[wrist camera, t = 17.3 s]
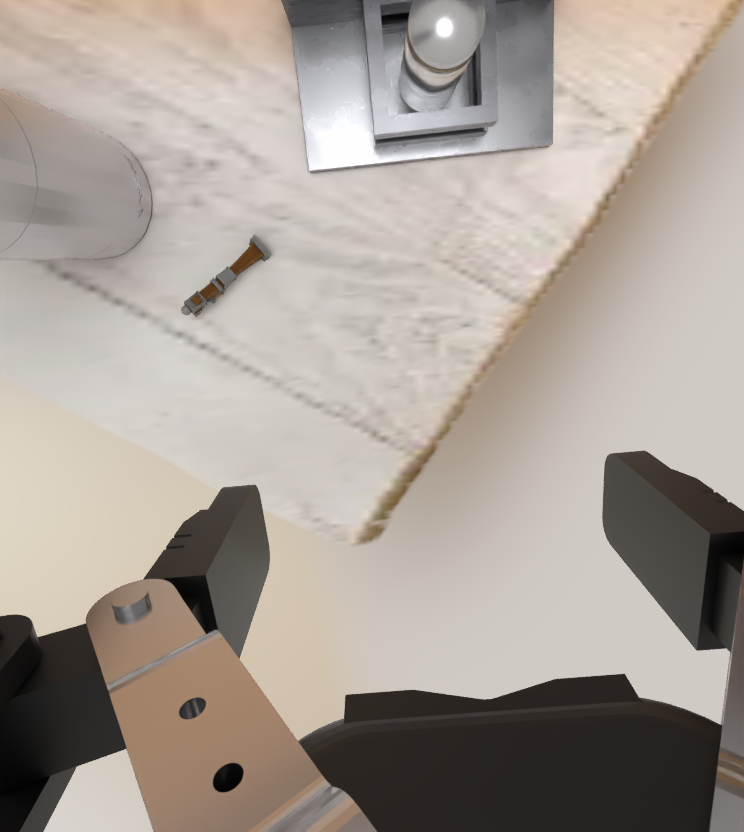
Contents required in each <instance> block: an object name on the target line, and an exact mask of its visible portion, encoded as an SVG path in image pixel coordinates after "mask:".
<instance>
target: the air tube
mask: <svg viewBox="0 0 744 832" xmlns="http://www.w3.org/2000/svg"><path fill="white" fill-rule="evenodd" d="M485 18H486V15H485V7H484V2H483V0H413V2H412V5H411V8H410V12H409V16H408V22H407V32H406V38H405V44H404V50H403V57H402V63H401V69H400V75H399V87H400V92H401V95H402V97H403V99H404V101H405V102H406V103H407V104H408V105H409V106H410V107H411V108H412V109H414V110H416V111H418V112H426V111H435V110H439V109H441V108H442V107H443V106H444V105H446V103H447V102H448V101H449V99H450V98H451V96H452V94H453V92H454V90H455V88H456V86H457V84H458V82H459V80H460V78H461V77H462V75H463V73H464V71H465V69H466V67H467V65H468V63H469V61H470V59H471V57H472V56H473V54H474V52H475V51H476V49H477V47H478V45H479V42H480V40H481V37H482V35H483V31H484V28H485Z"/></svg>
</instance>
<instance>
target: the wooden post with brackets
mask: <svg viewBox="0 0 744 832" xmlns="http://www.w3.org/2000/svg"><path fill="white" fill-rule="evenodd" d="M249 245H250V246H249V248H248V249H247V250H246V251H245V252H244V253H243V254H242V256H241V257H240V258H239V259H238V260H237V261H236V262H235V263H234V264H233V265H232V266H231V267H227V268H226V269H225V270H224V271H222V272H221V273H220V274H218V275H216V279H214V278H213V279H212V280H211V283H210V284H209V285H208V286H206V287H205V288H204V289H203V290H201V291H200V292H198V291H197V292H196V293H195V294H194V295H193V296H191V297H190V298H189V299H188V300H186V301H184V305H185V306H183V307H182V309H181V311H182V313H183V314H184V315H189V314H190V313H191V312H192V313H193V314H194V315H195V316H197V315H198V314H200V313H201V311H202V309H201V308H202V307H203V305H204V304H206V305H207V302H208V303H209V301H210V302H213V303H215V299H216V298H218V297H219V296H220V295H222V294H224V291H223V290H225V289H226V287H227V285H229V284H230V283H231V282H232V281H234V280H235V279H236V277H237V275H238V274H240V273H241V272H242V271H244V270H245V269H246V268H248V267H249V266H251V265H252V264H253V263H255V262H256V261H258V260H260V259H262V260H263V261H265V260H266V259H268V258H269V256H270V252H269V251H268V250H267V248H266V247H265V246H264V245H263V244H262V243H261V242H260V241H259V239H258V238H257V237H256V236H255V235H254V236H253V237H252V238H251V239H250V243H249Z"/></svg>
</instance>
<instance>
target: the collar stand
mask: <svg viewBox="0 0 744 832" xmlns="http://www.w3.org/2000/svg"><path fill="white" fill-rule="evenodd" d="M281 1H282V3H283V6H284V9H285V12H286V14H287V17H288V20H289V23H290V25H291V28H292V36H293V44H294V52H295V60H296V68H297V76H298V84H299V92H300V101H301V109H302V117H303V125H304V133H305V141H306V149H307V157H308V165H309V171H310V172H311V173H312V172H321V171H330V170H339V169H349V168H358V167H367V166H376V165H385V164H394V163H403V162H412V161H422V160H431V159H440V158H449V157H458V156H467V155H476V154H486V153H495V152H504V151H513V150H522V149H531V148H540V147H548V146H550V145H552V144H553V34H554V0H483V2H484V7H485V15H486V18H485V28H484V31H483V35H482V37H481V40H480V42H479V45H478V47H477V49H476V51H475V52H474V54H473V56H472V57H471V59H470V61H469V63H468V65H467V67H466V69H465V71H464V73H463V75H462V77H461V78H460V80H459V82H458V84H457V86H456V88H455V90H454V92H453V94H452V96H451V98H450V99H449V101H448V102H447V103H446V105H444V106H443V107H442V108H441V109H439V110H435V111H426V112H418V111H416V110H414V109H412V108H411V107H410V106H409V105H408V104H407V103H406V102H405V101H404V99H403V97H402V95H401V92H400V87H399V75H400V69H401V63H402V57H403V50H404V44H405V38H406V32H407V22H408V16H409V12H410V8H411V5H412V2H413V0H281Z"/></svg>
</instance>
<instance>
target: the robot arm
mask: <svg viewBox="0 0 744 832" xmlns="http://www.w3.org/2000/svg"><path fill="white" fill-rule="evenodd" d="M151 208H152V200H151V192H150V187H149V184H148V181H147V178H146V175H145V173H144V171H143V169H142V167H141V166H140V164H139V162H138V161H137V160H136V158H135V157H134V156H133V155H132V153H131V152H130V151H129V150H128V149H127V148H125V147H124V146H123V145H122V144H121V143H120V142H118V141H117V140H115V139H113V138H111V137H110V136H108V135H106V134H104V133H102V132H99V131H97V130H95V129H93V128H90V127H88V126H86V125H84V124H82V123H80V122H78V121H75V120H73V119H71V118H69V117H66V116H64V115H62V114H59V113H57V112H55V111H53V110H50V109H48V108H46V107H44V106H41V105H39V104H37V103H35V102H32V101H30V100H28V99H26V98H23V97H21V96H19V95H17V94H14V93H12V92H10V91H8V90H5V89H3V88H1V87H0V260H34V259H102V258H112V257H115V256H118V255H121V254H124V253H125V252H127V251H128V250H130V249H132V248H133V247H134V246H135V245H136V244H137V243H138V242H139V241H140V240H141V238H142V237H143V235H144V233H145V231H146V230H147V227H148V224H149V221H150V217H151ZM603 527H604V531H605V534H606V537H607V539H608V541H609V543H610V545H611V546H612V547H613V548H614V549H615V551H616V552H617V553H618V554H619V556H620V557H621V558H622V559H623V561H624V562H625V563H626V564H627V566H628V567H629V568H630V569H631V570H632V572H633V573H634V574H635V575H636V577H637V578H638V579H639V580H640V581H641V582H642V584H643V585H644V586H645V588H646V589H647V590H648V591H649V592H650V594H651V595H652V596H653V597H654V599H655V600H656V601H657V602H658V604H659V605H660V606H661V607H662V609H663V610H664V611H665V612H666V613H667V615H668V616H669V617H670V618H671V619H672V621H673V622H674V623H675V624H676V626H677V627H678V628H679V629H680V631H681V632H682V633H683V634H684V635H685V637H686V638H687V639H688V640H689V642H690V643H691V644H692V645H693V647H694V648H695V649H696V650H710V649H722V648H727V649H728V650H729V651H730V659H729V667H728V674H727V682H726V689H725V697H724V704H723V711H722V719H721V725H720V724H718V723H716V722H714V721H712V720H710V719H708V718H706V717H703V716H701V715H698V714H696V713H693V712H691V711H688V710H686V709H683V708H680V707H677V706H674V705H670V704H667V703H663V702H659V701H654V700H650V699H645V698H639V697H638V695H637V694H636V692H635V690H634V689H633V687H632V685H631V684H630V682H629V680H628V679H627V677H626V675H625V674H617V675H606V676H591V677H578V678H564V679H554V680H551V681H548V682H545V683H542V684H538V685H535V686H532V687H529V688H526V689H523V690H520V691H516V692H513V693H510V694H507V695H503V696H500V697H497V698H494V699H487V700H483V699H474V698H468V697H460V696H453V695H446V694H439V693H432V692H425V691H418V690H405V691H391V692H378V693H364V694H351V695H346V697H345V714H344V719H341V720H338V721H335V722H333V723H331V724H328V725H326V726H324V727H321V728H319V729H317V730H315V731H314V732H312V733H310V734H308V735H307V736H305V737H304V738H302V739H300V740H299V741H297V739H296V738H295V737H294V735H293V734H292V732H291V731H290V729H289V728H288V727H287V725H286V724H285V722H284V721H283V720H282V718H281V717H280V715H279V714H278V713H277V711H276V710H275V708H274V707H273V706H272V704H271V703H270V701H269V700H268V699H267V697H266V696H265V695H264V693H263V692H262V690H261V689H260V687H259V686H258V685H257V683H256V682H255V680H254V679H253V678H252V676H251V675H250V673H249V672H248V671H247V669H246V668H245V666H244V665H243V664H242V662H241V661H240V660H239V658H240V655H241V652H242V649H243V646H244V643H245V640H246V637H247V634H248V631H249V628H250V624H251V622H252V619H253V616H254V613H255V610H256V607H257V604H258V601H259V597H260V595H261V592H262V589H263V586H264V583H265V580H266V577H267V573H268V570H269V562H270V552H269V543H268V537H267V532H266V527H265V521H264V515H263V510H262V504H261V499H260V494H259V490H258V488H257V486H256V485H246V486H234V487H223V488H222V489H221V490H220V492H219V493H218V495H217V497H216V498H215V500H214V501H213V503H212V504H211V506H210V507H209V509H208V510H200V511H199V512H197V513H196V514H195V515H193V516H192V517H190V518H189V519H188V520H186V521H185V522H184V523H183V524H182V525H181V527H180V528H179V530H178V531H177V532H176V534H175V535H174V538H172V539H171V541H170V543H169V544H168V545H167V547H166V550H164V551H163V552H162V554H161V555H160V556H159V558H158V560H157V561H156V562H155V564H154V565H153V566H152V568H151V569H150V571H149V572H148V573H147V575H146V576H145V578H144V579H143V580H140V581H136V582H133V583H129V584H127V585H124V586H121V587H119V588H117V589H115V590H113V591H111V592H110V593H108V594H106V595H105V596H104V597H102V598H101V599H100V600H98V601H97V603H95V604H94V606H92V608H91V609H90V610H89V612H88V614H87V617H86V624H83V625H80V626H77V627H73V628H69V629H66V630H62V631H59V632H55V633H51V634H48V635H44V636H41V637H37V635H36V632H35V629H34V626H33V624H32V621H31V620H30V618H28V617H26V616H22V615H6V616H0V832H43V831H44V829H45V827H46V825H47V823H48V821H49V819H50V817H51V815H52V813H53V812H54V810H55V808H56V806H57V804H58V802H59V800H60V798H61V796H62V794H63V792H64V790H65V789H66V786H67V785H68V783H69V781H70V779H71V777H72V775H73V773H74V771H75V769H76V767H77V766H79V765H82V764H85V763H87V762H90V761H93V760H96V759H99V758H101V757H104V756H107V755H110V754H113V753H116V752H118V751H121V750H124V749H127V751H128V754H129V758H130V761H131V764H132V767H133V770H134V773H135V776H136V779H137V782H138V785H139V788H140V791H141V795H142V798H143V801H144V804H145V807H146V810H147V813H148V816H149V819H150V822H151V825H152V828H153V831H154V832H744V511H743V510H741V509H740V508H738V507H737V506H736V505H734V504H732V503H731V502H728V501H727V499H726V498H724V497H723V496H721V495H720V494H718V493H717V492H715V493H714V492H713V489H711V488H710V487H708V486H707V485H705V484H704V483H703V482H701V481H700V480H698V479H697V478H694V477H692V476H689V475H686V474H684V473H681V472H678V471H676V470H673V469H670V468H669V467H667V466H666V465H665V464H663V463H662V462H661V461H659V460H658V459H656V458H655V457H654V456H652V455H651V454H650V453H648V452H646V451H635V452H624V453H613V454H609V455H608V456H607V458H606V461H605V470H604V492H603Z"/></svg>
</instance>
